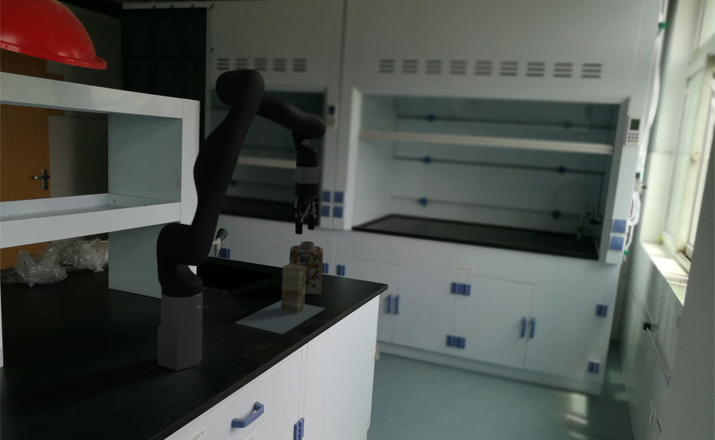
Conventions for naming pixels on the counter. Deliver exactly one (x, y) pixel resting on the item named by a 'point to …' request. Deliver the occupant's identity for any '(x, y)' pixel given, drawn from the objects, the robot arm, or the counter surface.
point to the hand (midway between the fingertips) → (305, 231)
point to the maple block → (293, 288)
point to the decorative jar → (309, 264)
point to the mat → (278, 318)
